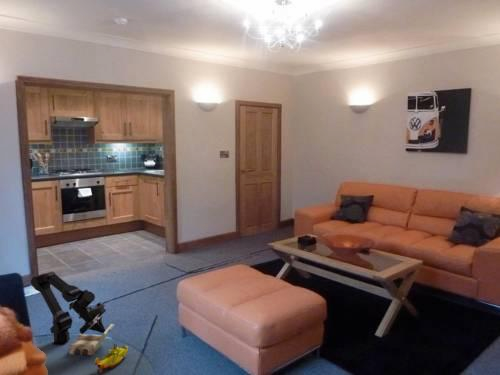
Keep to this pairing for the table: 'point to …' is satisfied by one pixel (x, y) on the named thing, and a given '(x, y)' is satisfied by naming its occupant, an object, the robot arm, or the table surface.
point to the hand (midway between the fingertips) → (104, 332)
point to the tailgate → (104, 336)
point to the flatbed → (85, 345)
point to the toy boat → (112, 357)
